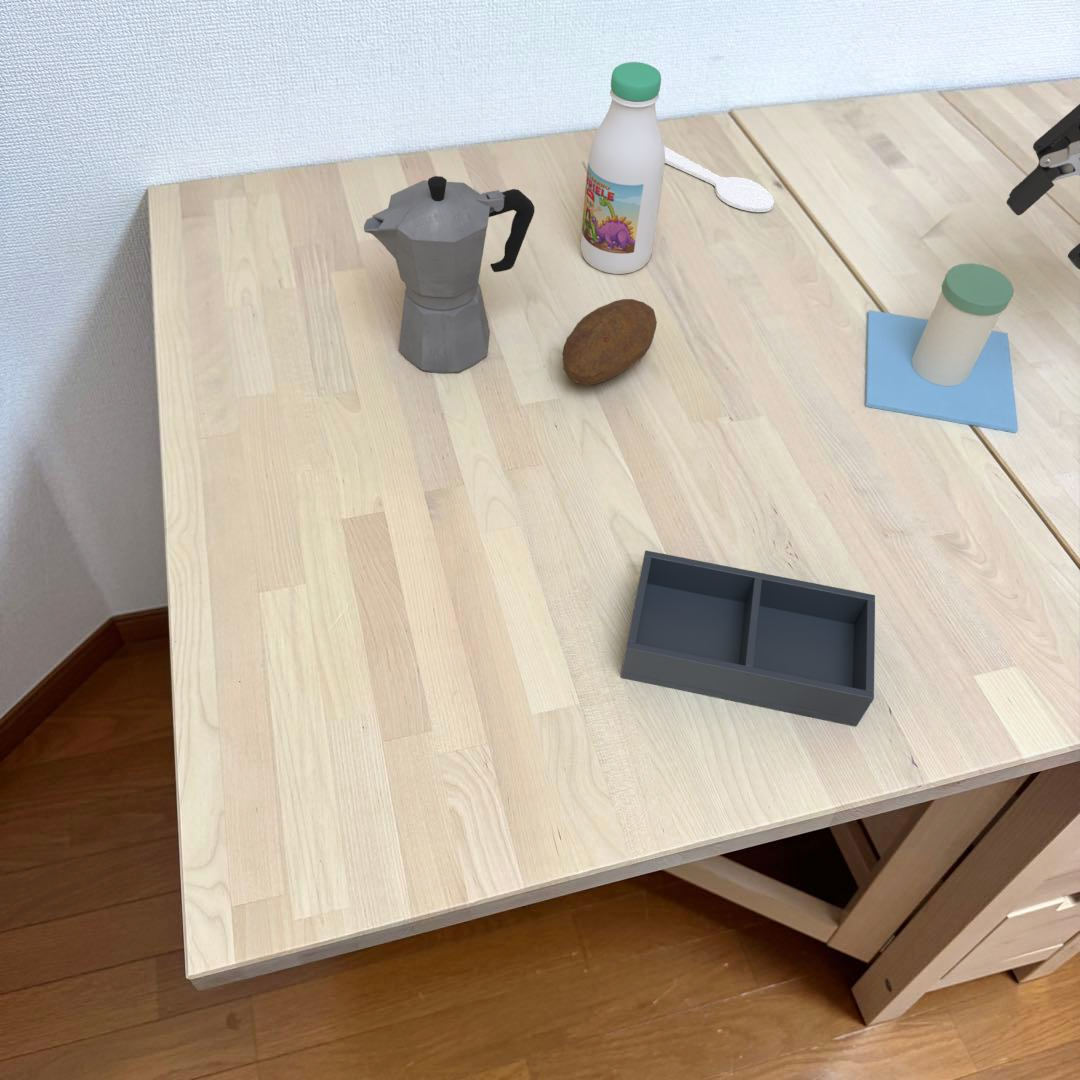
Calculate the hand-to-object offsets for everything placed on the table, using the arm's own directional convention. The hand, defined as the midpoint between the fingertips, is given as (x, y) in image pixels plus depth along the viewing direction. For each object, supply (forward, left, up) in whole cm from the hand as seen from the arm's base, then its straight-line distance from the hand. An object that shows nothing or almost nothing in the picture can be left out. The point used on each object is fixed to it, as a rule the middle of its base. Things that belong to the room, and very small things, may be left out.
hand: (1041, 235), depth 86 cm
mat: (+3, +1, -16) cm, 16 cm away
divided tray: (+19, +38, -16) cm, 45 cm away
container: (+3, +1, -15) cm, 15 cm away
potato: (+35, +9, -16) cm, 40 cm away
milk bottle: (+37, -9, -16) cm, 42 cm away
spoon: (+29, -26, -16) cm, 42 cm away
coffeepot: (+50, +9, -16) cm, 54 cm away
